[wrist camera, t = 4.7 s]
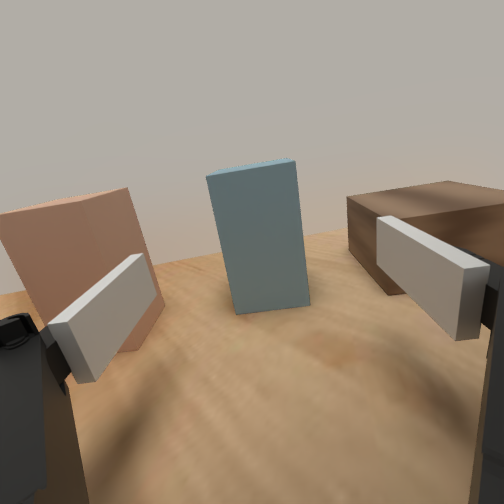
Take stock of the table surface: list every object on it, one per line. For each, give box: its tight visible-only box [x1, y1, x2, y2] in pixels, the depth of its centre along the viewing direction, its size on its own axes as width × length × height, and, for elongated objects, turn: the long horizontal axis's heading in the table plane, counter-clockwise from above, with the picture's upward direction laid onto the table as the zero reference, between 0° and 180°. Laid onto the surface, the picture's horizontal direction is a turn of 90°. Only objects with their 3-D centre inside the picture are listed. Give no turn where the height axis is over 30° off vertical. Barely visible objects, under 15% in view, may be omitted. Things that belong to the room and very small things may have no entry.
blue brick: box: [206, 158, 310, 315], centre depth 23 cm, size 6×6×11 cm
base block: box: [347, 181, 504, 295], centre depth 24 cm, size 10×10×6 cm
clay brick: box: [0, 188, 165, 353], centre depth 21 cm, size 6×6×11 cm
